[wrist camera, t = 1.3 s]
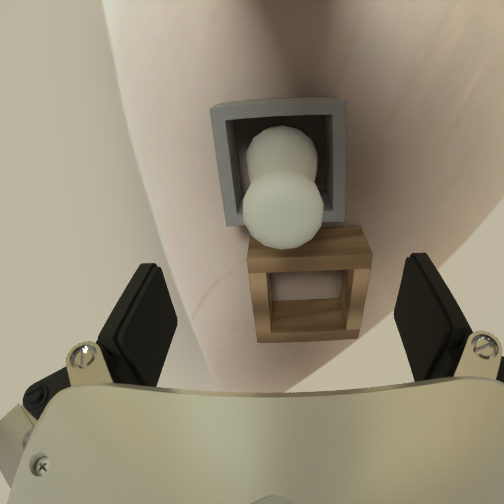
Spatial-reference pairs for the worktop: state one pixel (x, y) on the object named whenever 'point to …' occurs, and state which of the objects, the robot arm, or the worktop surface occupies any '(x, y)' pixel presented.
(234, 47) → the worktop surface
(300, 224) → the salt shaker
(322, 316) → the brown wooden open box
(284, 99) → the grey open tray
